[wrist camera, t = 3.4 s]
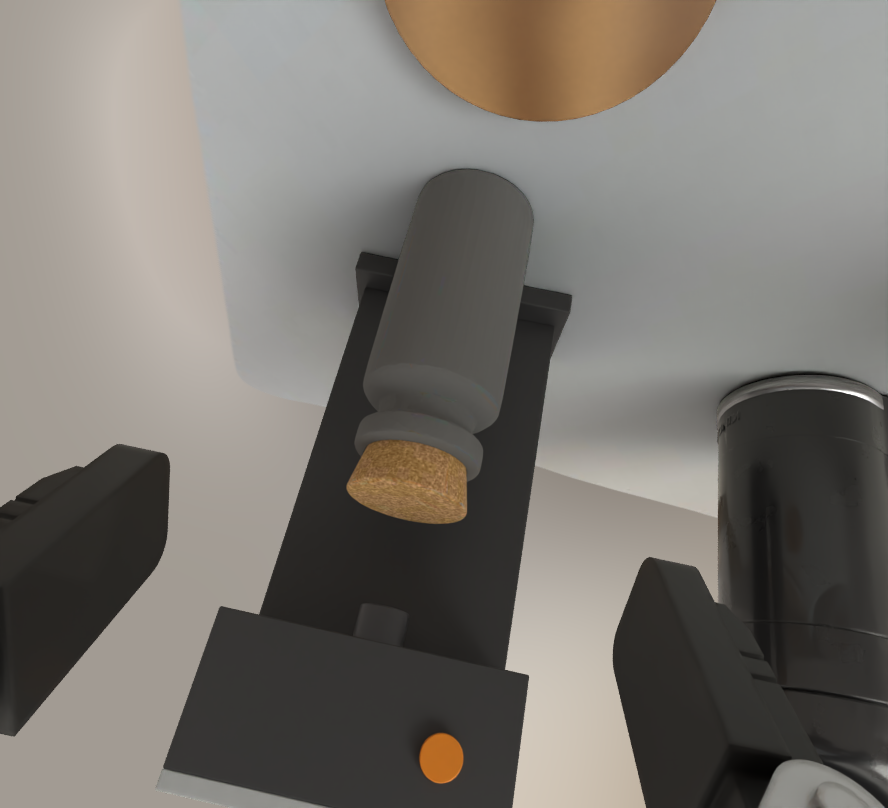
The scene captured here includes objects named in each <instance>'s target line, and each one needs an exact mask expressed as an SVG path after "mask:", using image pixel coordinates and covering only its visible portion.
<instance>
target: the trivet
mask: <svg viewBox="0 0 888 808" xmlns="http://www.w3.org/2000/svg"><path fill="white" fill-rule="evenodd" d="M715 2H716V0H385V3H386V6H387V9H388V11H389V14H390V16H391V18H392V20H393V22H394V24H395V26H396V28H397V30H398V32H399V34H400V36H401V37H402V39H403V40H404V42H405V44H406V45H407V47H408V48H409V50H410V51H411V53H412V54H413V55H414V56H415V57H416V59H417V60H418V61H419V62H420V64H421V65H422V66H423V67H424V68H425V69H426V70H427V71H428V72H429V73H430V74H431V75H432V76H433V77H434V78H435V79H436V80H437V81H438V82H440V83H441V84H442V85H443V86H445V87H446V88H447V89H448V90H450V91H451V92H452V93H454V94H456V95H457V96H459V97H460V98H462V99H464V100H465V101H467V102H469V103H471V104H473V105H475V106H477V107H479V108H481V109H484V110H486V111H489V112H492V113H495V114H498V115H501V116H505V117H510V118H514V119H519V120H528V121H562V120H570V119H577V118H581V117H585V116H589V115H593V114H596V113H599V112H601V111H604V110H607V109H610V108H612V107H614V106H616V105H618V104H620V103H622V102H624V101H626V100H628V99H630V98H632V97H633V96H635V95H636V94H638V93H640V92H641V91H643V90H644V89H646V88H647V87H649V86H650V85H651V84H652V83H653V82H655V81H656V80H657V79H658V78H660V77H661V76H662V75H663V74H665V73H666V72H667V70H668V69H669V68H670V67H671V66H672V65H673V64H674V63H675V62H676V61H677V60H678V59H679V58H680V57H681V56H682V55H683V53H684V52H685V51H686V50H687V48H688V47H689V46H690V45H691V43H692V42H693V41H694V39H695V38H696V37H697V35H698V33H699V32H700V30H701V28H702V27H703V25H704V24H705V22H706V20H707V19H708V17H709V15H710V13H711V11H712V8H713V6H714V4H715Z"/></svg>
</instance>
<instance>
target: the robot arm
mask: <svg viewBox="0 0 888 808" xmlns="http://www.w3.org/2000/svg"><path fill="white" fill-rule="evenodd" d="M717 430H718V603H716V602H714V600H713V598H712V596H711V594H710V592H709V590H708V588H707V586H706V584H705V582H704V580H703V578H702V576H701V574H700V572H699V571H698V569H697V568H696V567H693V566H689V565H685V564H680V563H675V562H670V561H665V560H660V559H656V558H652V557H649V558H647V559H646V560H644V562H643V563H642V565H641V567H640V570H639V572H638V575H637V577H636V580H635V583H634V586H633V588H632V591H631V593H630V596H629V599H628V601H627V604H626V607H625V609H624V612H623V615H622V617H621V620H620V623H619V625H618V628H617V631H616V635H615V639H614V646H613V668H614V673H615V677H616V682H617V686H618V689H619V694H620V699H621V703H622V707H623V711H624V714H625V720H626V724H627V728H628V732H629V737H630V740H631V745H632V749H633V753H634V758H635V762H636V766H637V770H638V775H639V779H640V783H641V787H642V792H643V796H644V800H645V804H646V808H888V397H885V396H881V395H880V394H879V393H878V392H877V391H875V390H874V389H872V388H871V387H869V386H867V385H864V384H862V383H859V382H856V381H853V380H849V379H845V378H839V377H833V376H823V375H793V376H783V377H776V378H771V379H766V380H762V381H758V382H755V383H751V384H749V385H746V386H744V387H741V388H739V389H737V390H735V391H734V392H732V393H731V394H729V395H728V396H726V397H725V398H724V399H723V400H722V401H721V403H720V404H719V406H718V409H717ZM169 477H170V463H169V459H168V457H167V455H166V454H164V453H160V452H155V451H151V450H146V449H141V448H136V447H132V446H127V445H123V444H117V445H115V446H113V447H111V448H110V449H109V450H107V451H106V452H105V453H103V454H102V455H100V456H99V457H98V458H96V459H95V460H94V461H92V462H91V463H90V464H88V465H87V466H85V467H84V468H83V467H79V466H75V467H72V468H70V469H67V470H64V471H61V472H59V473H56V474H53V475H50V476H48V477H45V478H42V479H41V480H39V481H38V482H36V483H35V484H33V485H32V486H31V487H29V488H28V489H26V490H25V491H23V492H22V493H20V494H19V495H17V496H16V499H15V501H13V500H10V501H9V502H7V503H6V504H4V505H3V506H2V507H0V734H4V735H9V736H15V735H16V734H17V733H18V731H20V729H21V728H22V727H23V726H24V725H25V723H26V722H27V721H28V720H29V719H30V717H31V716H32V715H33V714H34V713H35V711H36V710H37V709H38V708H39V707H40V706H41V704H42V703H43V702H44V701H45V700H46V698H47V697H48V696H49V695H50V694H51V692H52V691H53V690H54V688H55V687H56V686H57V685H58V684H59V683H60V682H61V681H62V679H63V678H64V677H65V676H66V675H67V673H68V672H69V671H70V670H71V668H72V667H73V666H74V665H75V664H76V663H77V661H78V660H79V659H80V658H81V657H82V655H83V654H84V653H85V652H86V651H87V650H88V648H89V647H90V646H91V645H92V644H93V642H94V641H95V640H96V639H97V638H98V636H99V635H100V634H101V633H102V632H103V630H104V629H105V628H106V627H107V626H108V624H109V623H110V622H111V621H112V620H113V618H114V617H115V616H116V615H117V614H118V613H119V611H120V610H121V609H122V608H123V607H124V605H125V604H126V603H127V602H128V601H129V600H130V598H131V597H132V596H133V595H134V594H135V592H136V591H137V590H138V589H139V588H140V586H141V585H142V584H143V583H144V582H145V580H146V579H147V578H148V577H149V576H150V575H151V573H152V572H153V571H154V569H155V568H156V566H157V565H158V563H159V561H160V558H161V556H162V554H163V551H164V548H165V544H166V540H167V532H168V530H167V529H168V506H169Z"/></svg>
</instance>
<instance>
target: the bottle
mask: <svg viewBox="0 0 888 808" xmlns="http://www.w3.org/2000/svg"><path fill="white" fill-rule="evenodd" d="M533 223H534V219H533V212H532V209H531V206H530V204H529V202H528V200H527V199H526V197H525V196H524V194H523V193H522V192H521V191H520V190H519V189H518V188H517V187H516V186H514V185H513V184H512V183H510V182H509V181H507V180H505V179H503V178H501V177H499V176H497V175H495V174H492V173H488V172H484V171H479V170H472V169H463V170H453V171H450V172H446V173H443V174H441V175H439V176H437V177H435V178H433V179H432V180H431V181H429V182H428V183H427V184H426V186H425V187H424V188H423V190H422V191H421V193H420V195H419V198H418V200H417V203H416V206H415V209H414V212H413V215H412V218H411V222H410V225H409V228H408V231H407V234H406V238H405V241H404V244H403V247H402V250H401V254H400V257H399V260H398V264H397V267H396V271H395V274H394V277H393V281H392V284H391V287H390V291H389V294H388V297H387V301H386V304H385V307H384V311H383V314H382V318H381V321H380V324H379V328H378V331H377V334H376V338H375V341H374V344H373V348H372V351H371V354H370V358H369V361H368V365H367V369H366V373H365V376H364V381H363V388H364V393H365V395H366V397H367V399H368V400H369V402H370V403H371V405H372V406H373V407H374V408H375V409H376V410H377V411H378V412H375V413H373V414H370V415H368V416H366V417H365V418H364V419H363V420H362V421H361V422H360V424H359V427H358V430H357V434H356V437H355V443H354V444H355V448H356V450H357V452H358V454H359V455H360V456H361V459H360V460H359V462H358V464H357V466H356V468H355V470H354V472H353V474H352V475H351V477H350V479H349V481H348V483H347V491H348V493H349V494H350V495H351V497H352V498H354V499H355V500H356V501H358V502H359V503H361V504H362V505H364V506H366V507H368V508H370V509H373V510H375V511H377V512H380V513H383V514H386V515H389V516H392V517H396V518H400V519H404V520H408V521H413V522H421V523H429V524H448V523H454V522H457V521H460V520H462V519H463V518H464V517H465V516H466V514H467V482H468V481H470V480H472V479H474V478H475V477H476V476H477V475H478V474H479V472H480V468H481V464H482V459H483V448H482V445H481V443H480V442H479V440H478V439H477V438H476V437H475V436H474V435H473V434H475V433H478V432H480V431H482V430H484V429H486V428H487V427H489V426H491V425H492V424H493V423H494V422H495V421H496V419H497V418H498V416H499V412H500V408H501V404H502V399H503V395H504V389H505V384H506V378H507V373H508V368H509V362H510V357H511V351H512V346H513V340H514V335H515V330H516V324H517V318H518V313H519V307H520V302H521V296H522V290H523V285H524V279H525V274H526V268H527V262H528V256H529V250H530V244H531V238H532V232H533Z"/></svg>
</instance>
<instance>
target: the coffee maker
mask: <svg viewBox="0 0 888 808" xmlns="http://www.w3.org/2000/svg"><path fill="white" fill-rule="evenodd" d="M397 264H398V260H396V259H391V258H386V257H381V256H376V255H371V254H366V253H361V254H360V256H359V259H358V262H357V265H356V278H357V289H358V300H359V308H358V311H357V314H356V317H355V320H354V323H353V327H352V330H351V333H350V336H349V339H348V342H347V345H346V348H345V351H344V354H343V357H342V360H341V364H340V367H339V370H338V373H337V376H336V379H335V382H334V385H333V388H332V391H331V394H330V397H329V401H328V404H327V407H326V410H325V413H324V416H323V419H322V422H321V425H320V429H319V431H318V435H317V438H316V441H315V444H314V447H313V450H312V453H311V456H310V459H309V462H308V465H307V469H306V472H305V475H304V478H303V481H302V484H301V487H300V490H299V493H298V496H297V499H296V503H295V506H294V509H293V512H292V515H291V518H290V521H289V524H288V527H287V530H286V533H285V536H284V540H283V542H282V546H281V549H280V552H279V555H278V558H277V561H276V564H275V567H274V570H273V573H272V576H271V579H270V583H269V586H268V589H267V592H266V595H265V598H264V601H263V604H262V607H261V610H260V614H259V615H258V614H254V613H249V612H245V611H240V610H236V609H231V608H227V607H223V606H221V607H220V608H219V610H218V613H217V616H216V619H215V622H214V624H213V627H212V630H211V633H210V636H209V639H208V642H207V644H206V647H205V650H204V653H203V656H202V658H201V661H200V664H199V667H198V670H197V672H196V676H195V678H194V681H193V684H192V687H191V689H190V693H189V695H188V698H187V701H186V704H185V706H184V709H183V712H182V715H181V718H180V720H179V723H178V726H177V729H176V732H175V735H174V738H173V740H172V743H171V746H170V749H169V752H168V754H167V757H166V760H165V763H164V766H163V767H164V769H162V771H161V775H160V777H159V780H158V783H157V786H156V790H157V791H162V792H166V793H170V794H174V795H178V796H183V797H187V798H191V799H195V800H200V801H204V802H208V803H212V804H217V805H221V806H225V807H230V808H512V805H513V798H514V790H515V782H516V774H517V766H518V759H519V751H520V743H521V735H522V727H523V720H524V712H525V703H526V697H527V688H528V681H529V676H528V675H525V674H521V673H517V672H512V671H508V670H505V665H506V659H507V651H508V645H509V638H510V631H511V625H512V618H513V610H514V603H515V597H516V590H517V583H518V577H519V576H518V575H519V570H520V563H521V556H522V549H523V542H524V535H525V527H526V522H527V514H528V508H529V500H530V494H531V487H532V480H533V473H534V467H535V460H536V453H537V446H538V439H539V432H540V426H541V419H542V412H543V405H544V398H545V391H546V384H547V377H548V371H549V364H550V358H551V356H552V354H553V351H554V349H555V347H556V344H557V342H558V340H559V337H560V335H561V333H562V330H563V328H564V326H565V323H566V321H567V319H568V316H569V314H570V310H571V302H572V296H571V295H566V294H561V293H556V292H551V291H547V290H542V289H537V288H532V287H527V286H523V290H522V296H521V302H520V307H519V313H518V318H517V324H516V330H515V335H514V340H513V346H512V351H511V357H510V362H509V368H508V373H507V378H506V384H505V389H504V395H503V399H502V404H501V408H500V412H499V416H498V418H497V419H496V421H495V422H494V423H493V424H492V425H491V426H489V427H487V428H486V429H484V430H482V431H480V432H478V433H475V434H473V435H474V436H475V437H476V438H477V439H478V440H479V442H480V443H481V445H482V448H483V459H482V464H481V468H480V472H479V474H478V475H477V476H476V477H475V478H474V479H472V480H470V481H468V482H467V514H466V516H465V517H464V518H463V519H462V520H460V521H457V522H454V523H448V524H429V523H421V522H413V521H408V520H404V519H400V518H396V517H392V516H389V515H386V514H383V513H380V512H377V511H375V510H373V509H370V508H368V507H366V506H364V505H362V504H361V503H359V502H358V501H356V500H355V499H354V498H352V497H351V495H350V494H349V493H348V491H347V483H348V481H349V479H350V477H351V475H352V474H353V472H354V470H355V468H356V466H357V464H358V462H359V460H360V459H361V456H360V455H359V454H358V452H357V450H356V448H355V444H354V443H355V437H356V434H357V430H358V427H359V424H360V422H361V421H362V420H363V419H364V418H365V417H366V416H368V415H370V414H373V413H375V412H378V411H377V410H376V409H375V408H374V407H373V406H372V405H371V403H370V402H369V400H368V399H367V397H366V395H365V393H364V388H363V381H364V376H365V373H366V369H367V365H368V361H369V358H370V354H371V351H372V348H373V344H374V341H375V338H376V334H377V331H378V328H379V324H380V321H381V318H382V314H383V311H384V307H385V304H386V301H387V297H388V294H389V291H390V287H391V284H392V281H393V277H394V274H395V271H396V267H397Z"/></svg>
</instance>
